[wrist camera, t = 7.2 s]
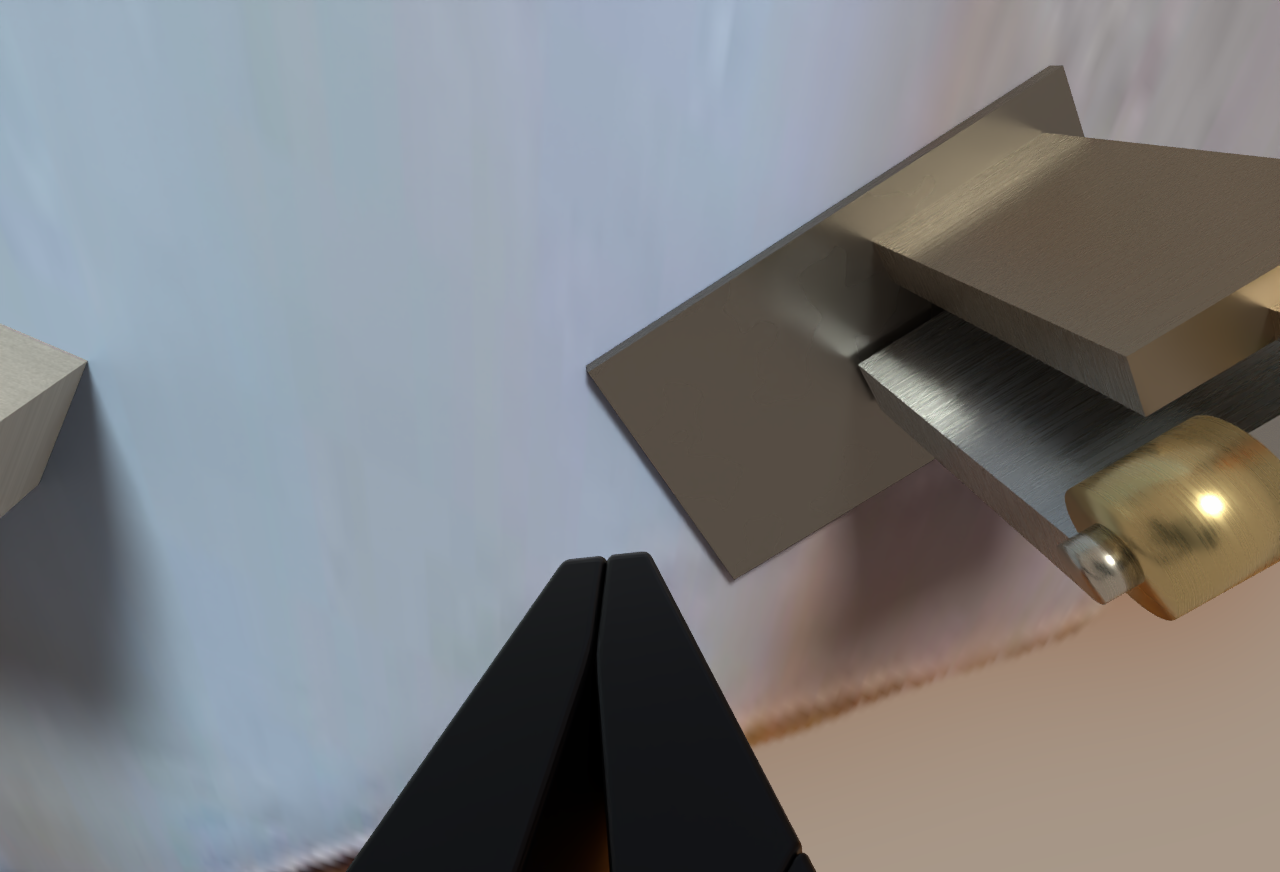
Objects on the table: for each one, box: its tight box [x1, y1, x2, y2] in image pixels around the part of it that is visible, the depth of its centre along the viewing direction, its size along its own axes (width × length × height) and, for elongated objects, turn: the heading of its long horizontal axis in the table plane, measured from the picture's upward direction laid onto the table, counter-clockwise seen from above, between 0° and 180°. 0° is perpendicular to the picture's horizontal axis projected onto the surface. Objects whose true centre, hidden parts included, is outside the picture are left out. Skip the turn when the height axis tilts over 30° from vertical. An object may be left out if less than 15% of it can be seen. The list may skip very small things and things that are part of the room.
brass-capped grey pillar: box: [858, 310, 1280, 621], centre depth 15 cm, size 7×4×11 cm, turn 122°
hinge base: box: [586, 65, 1280, 580], centre depth 16 cm, size 14×8×12 cm, turn 122°
